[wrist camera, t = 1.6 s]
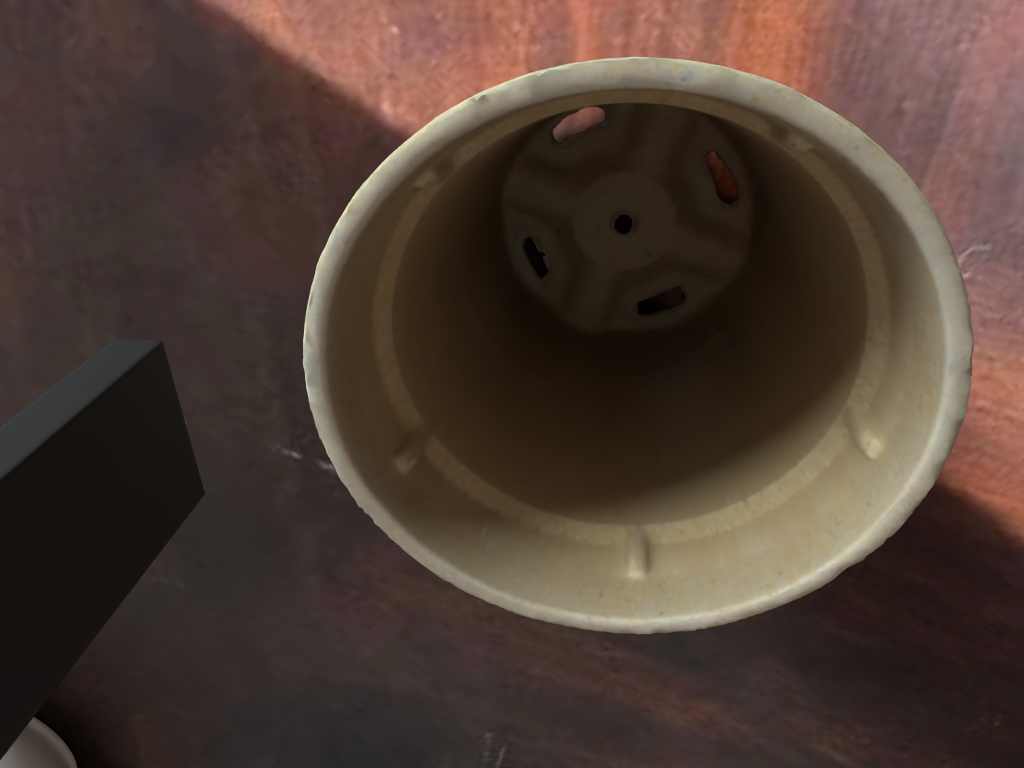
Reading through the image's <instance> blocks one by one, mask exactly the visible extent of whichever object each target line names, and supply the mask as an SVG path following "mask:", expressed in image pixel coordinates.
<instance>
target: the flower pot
mask: <svg viewBox="0 0 1024 768" xmlns="http://www.w3.org/2000/svg"><path fill="white" fill-rule="evenodd" d="M585 107H599V108H601V109H603V110H604V111H605V113H606V117H605V120H604V121H603V122H601V123H598V124H597V125H595V126H592V127H589V128H587V129H586V130H584V131H582V132H580V133H578V134H576V135H574V136H573V137H571V138H569V139H567V140H565V141H564V142H562V143H559V142H557V141H556V140H555V138H554V137H553V130H554V128H555V127H556V126H557V125H558V124H559V123H560V122H561V121H562V120H563V119H564V118H565V117H567V116H568V115H570V114H574V113H576V112H578V111H579V110H580V109H583V108H585ZM711 151H715V153H716V155H717V157H718V158H719V159H720V160H722V162H723V163H724V164H725V165H726V167H727V168H728V170H729V172H730V174H731V176H732V179H733V181H734V183H735V185H736V187H737V192H738V196H737V199H736V200H735V201H734V202H733V203H732V204H731V205H730V204H726V203H724V202H722V201H721V200H720V199H719V197H718V194H717V191H716V183H715V180H714V177H713V175H712V173H711V171H710V169H709V167H708V166H707V164H706V160H705V158H706V155H708V154H709V153H710V152H711ZM620 215H625V216H628V217H630V218H631V219H632V222H633V225H632V227H631V229H630V231H629V232H628V233H620V232H618V231H617V230H616V229H615V221H616V219H617V218H618V217H619V216H620ZM527 237H530V238H532V239H533V242H534V244H535V245H536V247H537V249H538V251H539V252H544V253H545V255H546V256H544V255H543V259H544V260H543V262H544V263H545V266H546V268H547V269H548V273H547V275H546V276H544V277H540V276H539V274H538V273H537V271H536V270H535V269H534V267H533V265H532V263H531V262H530V260H529V258H528V256H527V254H526V252H525V248H524V242H525V239H526V238H527ZM675 286H678V287H680V288H681V290H683V292H684V294H685V299H684V300H683V301H682V302H681V303H680V304H679V305H678V306H676V307H674V308H670V309H665V310H662V311H658V310H657V311H655V312H653V313H652V314H640V313H639V311H638V307H637V305H638V303H639V302H641V301H643V300H645V299H648V298H651V297H653V296H655V295H658V294H662V293H665V292H667V291H668V290H673V288H674V287H675ZM973 345H974V340H973V331H972V327H971V320H970V307H969V304H968V295H967V291H966V287H965V284H964V280H963V277H962V273H961V270H960V267H959V265H958V262H957V260H956V257H955V254H954V251H953V248H952V245H951V243H950V241H949V239H948V237H947V235H946V233H945V230H944V228H943V226H942V224H941V222H940V220H939V219H938V217H937V215H936V213H935V211H934V210H933V208H932V207H931V205H930V203H929V202H928V201H927V199H926V198H925V197H924V195H923V194H922V193H921V192H920V190H919V189H918V188H917V186H916V185H915V183H914V182H913V181H912V179H911V178H910V177H909V176H908V174H907V173H906V172H905V170H904V169H903V168H902V167H901V166H900V165H899V164H897V163H896V162H895V161H894V160H893V159H892V158H891V157H890V156H889V155H888V154H887V153H886V152H885V151H884V150H883V149H882V148H881V147H880V146H879V145H878V144H876V143H875V142H874V141H873V140H872V139H870V138H869V137H868V136H867V135H866V134H865V133H864V132H862V131H861V130H860V129H859V128H857V127H856V126H855V125H853V124H852V123H850V122H849V121H847V120H846V119H844V118H843V117H841V116H840V115H838V114H837V113H835V112H833V111H832V110H830V109H828V108H827V107H825V106H823V105H822V104H820V103H818V102H816V101H814V100H812V99H811V98H809V97H807V96H805V95H803V94H801V93H799V92H797V91H795V90H793V89H791V88H789V87H787V86H785V85H783V84H780V83H777V82H775V81H772V80H769V79H766V78H764V77H760V76H757V75H754V74H750V73H746V72H742V71H739V70H735V69H731V68H727V67H723V66H719V65H714V64H708V63H703V62H696V61H689V60H682V59H666V58H650V57H626V58H612V59H598V60H591V61H585V62H578V63H572V64H566V65H562V66H557V67H553V68H549V69H545V70H540V71H536V72H532V73H529V74H526V75H524V76H521V77H518V78H515V79H512V80H509V81H507V82H504V83H502V84H500V85H497V86H495V87H492V88H489V89H487V90H484V91H482V92H480V93H478V94H476V95H474V96H472V97H471V98H469V99H467V100H465V101H463V102H461V103H460V104H458V105H456V106H455V107H453V108H451V109H449V110H448V111H446V112H444V113H443V114H441V115H439V116H438V117H436V118H435V119H434V120H432V121H431V122H430V123H429V124H427V125H426V126H425V127H423V128H422V129H421V130H419V131H418V132H417V133H415V134H414V135H413V136H412V137H411V138H409V139H408V140H407V141H406V142H404V143H403V144H402V145H401V146H400V147H399V148H397V149H396V150H395V151H394V152H393V153H392V154H391V155H390V156H389V157H388V158H387V159H386V160H384V161H383V163H382V164H381V165H380V166H379V167H378V168H377V169H376V170H375V171H374V173H373V174H372V175H371V176H370V177H369V178H368V179H367V180H366V181H365V182H364V184H363V185H362V186H361V187H360V189H359V190H358V191H357V192H356V194H355V195H354V196H353V198H352V200H351V201H350V203H349V204H348V206H347V208H346V209H345V211H344V212H343V214H342V216H341V217H340V219H339V221H338V223H337V224H336V225H335V228H334V230H333V232H332V233H331V235H330V237H329V240H328V242H327V244H326V247H325V249H324V251H323V252H322V254H321V257H320V259H319V262H318V264H317V267H316V272H315V277H314V280H313V283H312V286H311V291H310V296H309V301H308V306H307V312H306V319H305V329H304V341H303V354H304V359H303V366H304V369H305V378H306V386H307V393H308V397H309V403H310V409H311V411H312V412H313V416H314V420H315V424H316V428H317V430H318V432H319V438H321V439H322V442H323V444H324V446H325V449H326V451H327V455H328V456H329V457H330V459H331V461H332V463H333V464H334V467H335V469H336V471H337V474H338V476H339V478H340V479H341V481H342V482H343V483H344V484H345V485H346V487H347V488H348V489H349V491H350V493H351V495H352V496H353V497H354V499H355V501H356V502H357V504H358V506H359V507H361V508H363V510H364V512H365V514H369V515H370V516H371V517H372V518H373V520H374V523H375V524H376V525H377V526H379V527H380V528H381V529H382V530H383V531H384V532H386V533H387V535H388V536H389V537H390V538H391V539H392V540H393V541H395V542H396V543H397V544H398V545H399V546H400V547H401V548H402V549H403V550H404V551H406V552H407V553H408V554H409V555H411V556H412V557H413V558H415V559H416V560H417V561H418V562H419V563H421V564H422V565H423V566H425V567H426V568H428V569H429V570H431V571H432V572H434V573H435V574H437V575H438V576H440V577H441V578H442V579H443V580H445V581H448V582H451V583H453V584H454V585H455V586H456V587H458V588H460V589H462V590H463V591H465V592H467V593H469V594H471V595H474V596H476V597H478V598H481V599H483V600H485V601H486V602H488V603H493V604H495V605H498V606H499V607H503V608H504V609H506V610H509V611H512V612H514V613H517V614H520V615H523V616H526V617H529V618H533V619H537V620H543V621H546V622H549V623H555V624H561V625H564V626H568V627H577V628H581V629H588V630H595V631H607V632H613V633H635V634H652V633H655V632H663V633H669V632H674V631H693V630H696V629H705V628H708V627H713V626H718V625H724V624H726V623H730V622H735V621H737V620H740V619H745V618H747V617H749V616H754V615H755V614H760V613H763V612H765V611H767V610H770V609H773V608H776V607H778V606H781V605H784V604H786V603H788V602H790V601H793V600H795V599H798V598H800V597H802V596H805V595H807V594H809V593H811V592H812V591H814V590H816V589H818V588H820V587H822V586H824V585H825V584H827V583H828V582H830V581H831V580H833V579H835V578H836V577H837V576H838V575H839V574H840V573H841V572H842V571H844V570H845V569H847V568H848V567H849V566H851V565H854V564H856V563H858V562H860V561H862V560H864V558H865V557H866V556H867V555H868V554H870V553H872V552H874V551H875V550H876V549H877V548H878V547H880V546H881V545H882V544H884V542H885V540H886V539H887V538H889V537H891V536H892V535H893V534H894V533H895V532H896V531H897V530H899V528H900V527H901V526H902V525H903V524H904V523H905V521H906V520H907V518H908V517H909V516H910V515H911V514H912V513H913V510H914V509H915V508H916V507H917V506H918V505H919V504H920V503H921V501H922V500H923V498H925V497H926V495H927V493H928V491H929V490H930V489H931V488H932V487H933V485H934V483H935V480H936V479H937V478H938V476H939V475H940V473H941V471H942V469H943V467H944V465H945V462H946V461H947V460H948V458H949V455H950V453H951V450H952V448H953V445H954V442H955V439H956V437H957V434H958V432H959V429H960V426H961V424H962V422H963V420H964V417H965V414H966V411H967V405H968V399H969V393H970V388H971V378H970V377H971V375H972V353H973Z"/></svg>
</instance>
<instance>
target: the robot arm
mask: <svg viewBox="0 0 1024 768" xmlns="http://www.w3.org/2000/svg"><path fill="white" fill-rule="evenodd" d="M204 494H205V493H204V489H203V486H202V482H201V478H200V475H199V471H198V468H197V464H196V460H195V457H194V453H193V450H192V446H191V442H190V439H189V435H188V432H187V428H186V424H185V421H184V417H183V414H182V410H181V406H180V403H179V399H178V396H177V392H176V388H175V385H174V381H173V378H172V374H171V370H170V367H169V363H168V360H167V356H166V352H165V349H164V345H163V342H162V341H140V340H112V341H111V342H110V343H108V344H107V345H106V346H104V347H103V348H102V349H100V350H99V351H98V352H97V353H95V354H94V355H93V356H91V357H90V358H89V359H87V360H86V361H85V362H84V363H82V364H81V365H80V366H78V367H77V368H76V369H74V370H73V371H72V372H71V373H69V374H68V375H67V376H65V377H64V378H63V379H61V380H60V381H59V382H58V383H56V384H55V385H54V386H52V387H51V388H50V389H48V390H47V391H46V392H45V393H43V394H42V395H41V396H39V397H38V398H37V399H36V400H34V401H33V402H32V403H30V404H29V405H28V406H26V407H25V408H24V409H23V410H21V411H20V412H19V413H17V414H16V415H15V416H13V417H12V418H11V419H10V420H8V421H7V422H6V423H4V424H3V425H2V426H0V760H1V759H2V758H3V756H4V755H5V754H6V753H7V751H8V750H9V749H10V747H11V746H12V745H13V743H14V742H15V741H16V739H17V738H18V737H19V736H20V734H21V733H22V732H23V730H24V729H25V728H26V726H27V725H28V724H29V723H30V721H31V720H32V719H33V717H34V716H35V715H36V713H37V712H38V711H39V709H40V708H41V707H42V706H43V704H44V703H45V702H46V700H47V699H48V698H49V696H50V695H51V694H52V693H53V691H54V690H55V689H56V687H57V686H58V685H59V683H60V682H61V681H62V679H63V678H64V677H65V676H66V674H67V673H68V672H69V670H70V669H71V668H72V666H73V665H74V664H75V663H76V661H77V660H78V659H79V657H80V656H81V655H82V653H83V652H84V651H85V649H86V648H87V647H88V646H89V644H90V643H91V642H92V640H93V639H94V638H95V636H96V635H97V634H98V633H99V631H100V630H101V629H102V627H103V626H104V625H105V623H106V622H107V621H108V619H109V618H110V617H111V616H112V614H113V613H114V612H115V610H116V609H117V608H118V606H119V605H120V604H121V603H122V601H123V600H124V599H125V597H126V596H127V595H128V593H129V592H130V591H131V589H132V588H133V587H134V586H135V584H136V583H137V582H138V580H139V579H140V578H141V576H142V575H143V574H144V573H145V571H146V570H147V569H148V567H149V566H150V565H151V563H152V562H153V561H154V559H155V558H156V557H157V556H158V554H159V553H160V552H161V550H162V549H163V548H164V546H165V545H166V544H167V543H168V541H169V540H170V539H171V537H172V536H173V535H174V533H175V532H176V531H177V529H178V528H179V527H180V526H181V524H182V523H183V522H184V520H185V519H186V518H187V516H188V515H189V514H190V513H191V511H192V510H193V509H194V507H195V506H196V505H197V503H198V502H199V501H200V499H201V498H202V497H203V496H204Z"/></svg>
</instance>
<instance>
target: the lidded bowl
mask: <svg viewBox="0 0 1024 768" xmlns="http://www.w3.org/2000/svg"><path fill="white" fill-rule="evenodd" d="M0 768H77V765H76V761H75V759H74V756H73V754H72V752H71V751H70V749H69V748H68V746H67V745H66V744H65V743H64V742H63V740H62V739H61V738H60V737H59V736H58V735H57V734H56V733H55V732H54V731H52V730H51V729H50V728H49V727H48V726H46V725H45V724H44V723H42V722H41V721H40V720H38V719H36V718H35V717H33V719H32V720H31V721H30V723H29V724H28V725H27V726H26V728H25V729H24V730H23V732H22V733H21V734H20V736H19V737H18V738H17V739H16V741H15V742H14V743H13V745H12V746H11V747H10V749H9V750H8V751H7V753H6V754H5V755H4V756H3V758H2V759H1V760H0Z"/></svg>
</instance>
